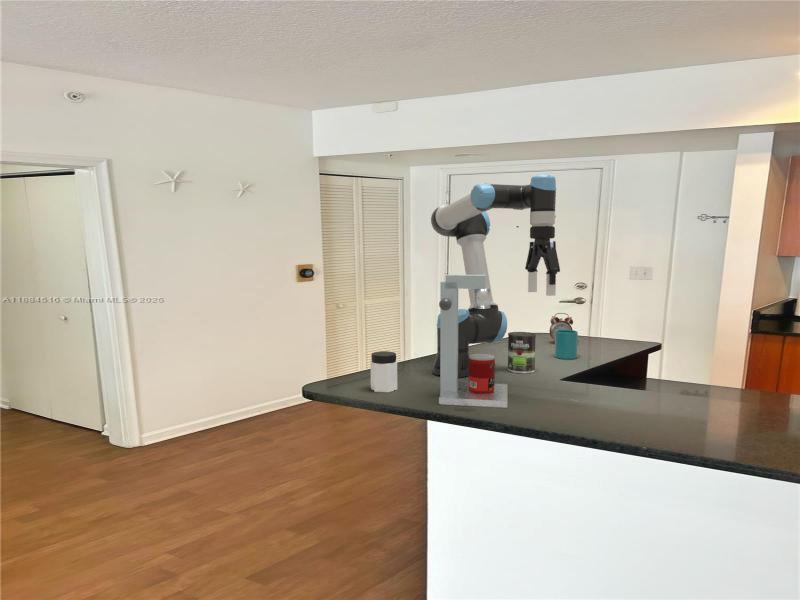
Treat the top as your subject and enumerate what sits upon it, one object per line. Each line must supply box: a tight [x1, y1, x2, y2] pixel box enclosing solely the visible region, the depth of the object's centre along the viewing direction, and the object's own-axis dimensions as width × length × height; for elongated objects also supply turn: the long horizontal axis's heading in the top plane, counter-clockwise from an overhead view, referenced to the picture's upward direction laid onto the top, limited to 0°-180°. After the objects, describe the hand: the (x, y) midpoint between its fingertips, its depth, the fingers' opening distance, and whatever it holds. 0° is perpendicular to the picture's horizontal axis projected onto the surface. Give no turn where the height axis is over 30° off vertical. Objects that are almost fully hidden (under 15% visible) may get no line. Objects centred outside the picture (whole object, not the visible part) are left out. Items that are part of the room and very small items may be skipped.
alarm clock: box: [548, 312, 574, 344], centre depth 260 cm, size 11×5×15 cm, turn 81°
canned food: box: [468, 353, 496, 394], centre depth 167 cm, size 8×8×11 cm
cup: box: [554, 329, 579, 360], centre depth 228 cm, size 9×12×11 cm
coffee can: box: [507, 331, 537, 374], centre depth 204 cm, size 10×10×14 cm
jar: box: [370, 350, 398, 393], centre depth 177 cm, size 9×8×12 cm
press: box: [438, 274, 509, 409], centre depth 165 cm, size 23×20×38 cm
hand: (541, 293), depth 170 cm, fingers open, 13 cm apart
